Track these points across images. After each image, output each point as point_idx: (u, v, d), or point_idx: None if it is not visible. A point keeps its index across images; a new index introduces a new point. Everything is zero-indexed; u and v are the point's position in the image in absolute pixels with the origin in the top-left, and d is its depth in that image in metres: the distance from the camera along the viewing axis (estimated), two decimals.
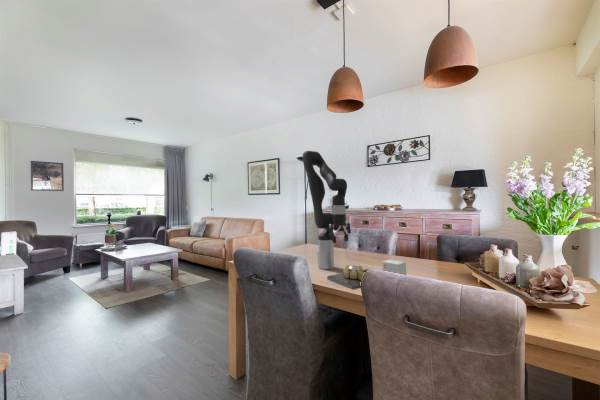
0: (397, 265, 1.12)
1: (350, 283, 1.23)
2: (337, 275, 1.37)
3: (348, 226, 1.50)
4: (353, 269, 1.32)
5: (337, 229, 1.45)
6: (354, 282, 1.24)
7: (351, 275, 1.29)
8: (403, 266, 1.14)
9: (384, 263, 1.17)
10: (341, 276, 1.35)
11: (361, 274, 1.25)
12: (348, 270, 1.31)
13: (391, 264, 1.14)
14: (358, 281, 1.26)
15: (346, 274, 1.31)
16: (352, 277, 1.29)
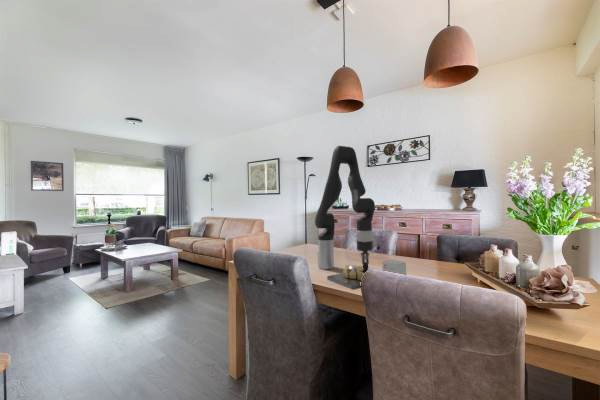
0: (397, 265, 1.12)
1: (350, 283, 1.23)
2: (337, 275, 1.37)
3: None
4: (353, 269, 1.32)
5: (368, 260, 1.23)
6: (354, 282, 1.24)
7: (350, 275, 1.30)
8: (403, 266, 1.14)
9: (384, 263, 1.17)
10: (341, 276, 1.35)
11: (360, 274, 1.25)
12: (348, 270, 1.31)
13: (391, 264, 1.14)
14: (358, 281, 1.26)
15: (346, 274, 1.31)
16: (351, 277, 1.29)
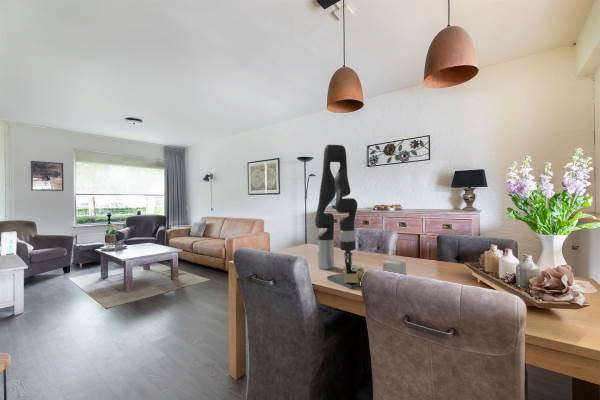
0: (397, 265, 1.12)
1: (350, 283, 1.23)
2: (337, 275, 1.37)
3: None
4: None
5: (351, 260, 1.24)
6: None
7: None
8: (403, 266, 1.14)
9: (384, 263, 1.17)
10: (341, 276, 1.35)
11: None
12: (344, 268, 1.35)
13: (391, 264, 1.14)
14: None
15: None
16: None
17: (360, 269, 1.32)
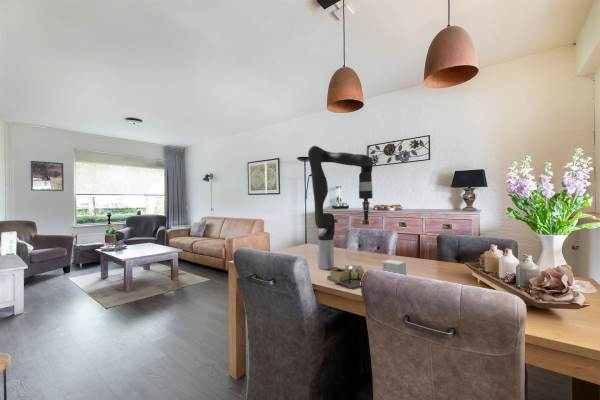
0: (397, 265, 1.12)
1: (350, 283, 1.23)
2: None
3: None
4: (353, 269, 1.32)
5: None
6: (354, 282, 1.24)
7: None
8: (403, 266, 1.14)
9: (384, 263, 1.17)
10: None
11: None
12: (345, 267, 1.37)
13: (391, 264, 1.14)
14: (358, 281, 1.26)
15: None
16: None
17: (357, 270, 1.31)
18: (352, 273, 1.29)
